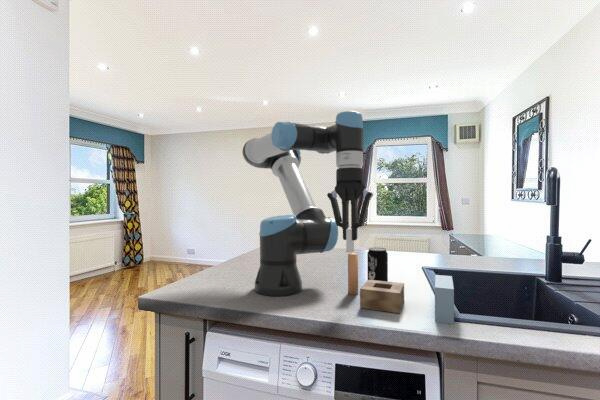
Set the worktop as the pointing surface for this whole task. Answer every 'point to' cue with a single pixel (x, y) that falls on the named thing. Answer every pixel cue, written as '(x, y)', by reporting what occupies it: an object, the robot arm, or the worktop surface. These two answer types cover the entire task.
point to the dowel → (352, 273)
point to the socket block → (382, 296)
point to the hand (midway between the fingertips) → (350, 251)
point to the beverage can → (377, 264)
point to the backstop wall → (444, 299)
